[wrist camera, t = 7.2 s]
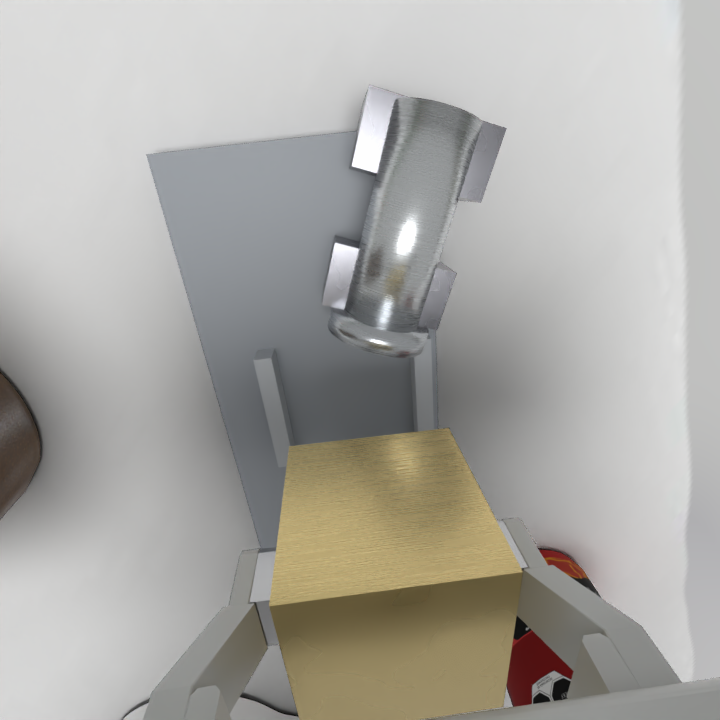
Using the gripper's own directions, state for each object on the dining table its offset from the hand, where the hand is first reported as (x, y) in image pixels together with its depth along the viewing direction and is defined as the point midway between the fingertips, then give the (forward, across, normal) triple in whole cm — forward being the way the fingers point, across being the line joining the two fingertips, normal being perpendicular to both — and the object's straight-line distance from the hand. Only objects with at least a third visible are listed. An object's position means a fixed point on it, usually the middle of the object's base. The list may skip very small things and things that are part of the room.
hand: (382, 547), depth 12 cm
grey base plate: (+10, +1, 0) cm, 10 cm away
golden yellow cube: (+2, 0, 0) cm, 2 cm away
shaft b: (+9, -2, -8) cm, 12 cm away
